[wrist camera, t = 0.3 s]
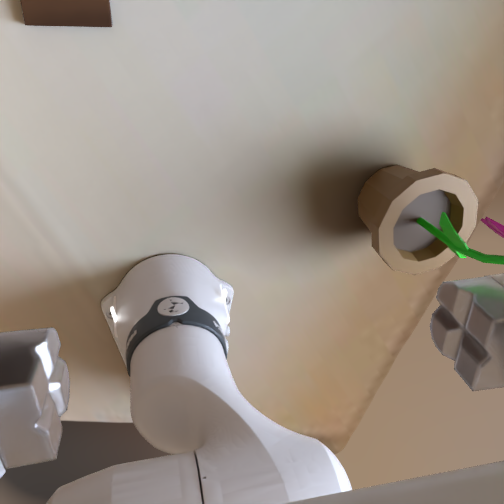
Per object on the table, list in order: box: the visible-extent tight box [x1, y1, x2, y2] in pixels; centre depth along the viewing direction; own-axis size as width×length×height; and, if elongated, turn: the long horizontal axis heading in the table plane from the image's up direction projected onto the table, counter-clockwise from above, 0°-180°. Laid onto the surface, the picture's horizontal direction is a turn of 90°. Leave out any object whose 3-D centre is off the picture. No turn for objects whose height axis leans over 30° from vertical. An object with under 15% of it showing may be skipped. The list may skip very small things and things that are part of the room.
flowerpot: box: [358, 165, 504, 275], centre depth 53 cm, size 14×14×30 cm
